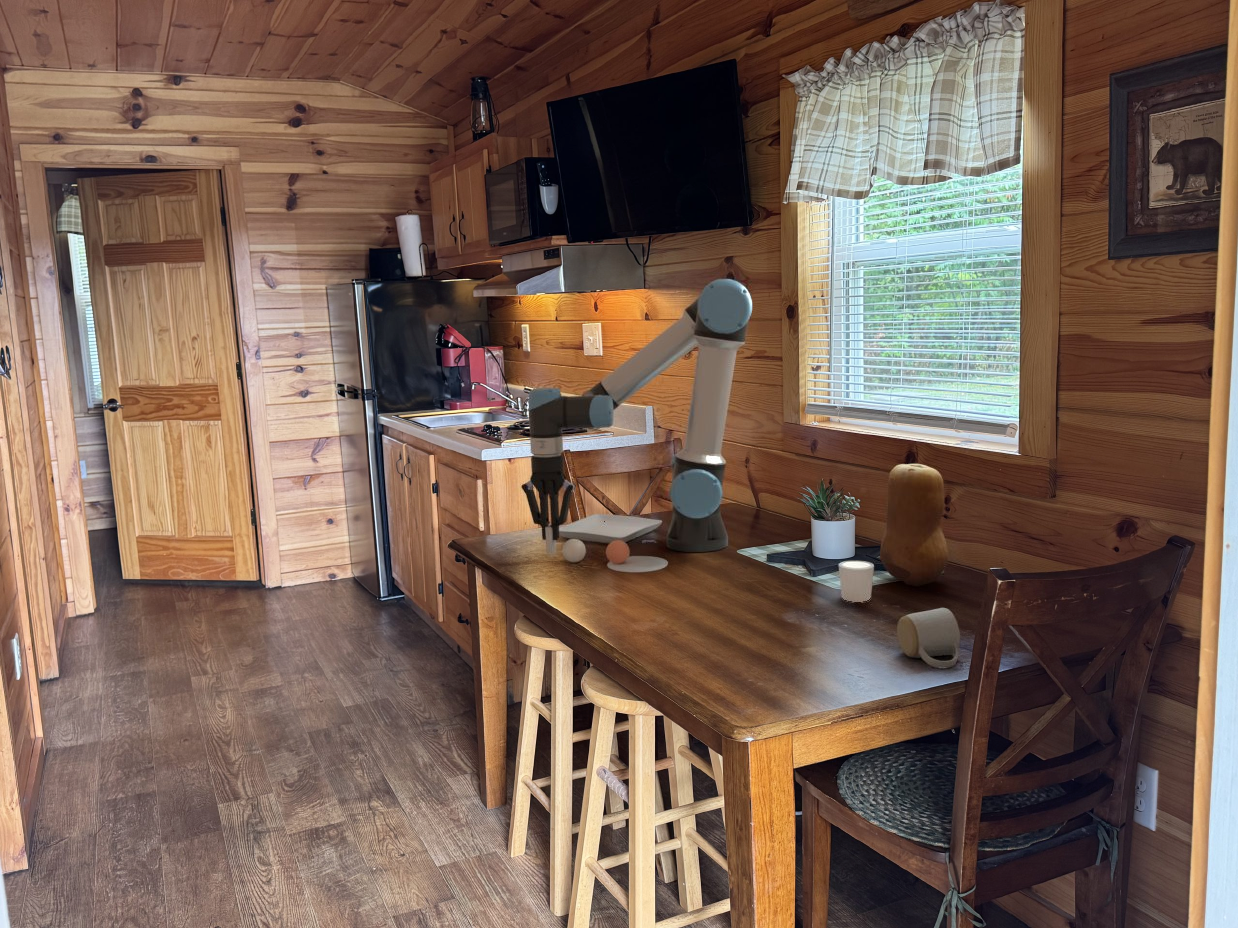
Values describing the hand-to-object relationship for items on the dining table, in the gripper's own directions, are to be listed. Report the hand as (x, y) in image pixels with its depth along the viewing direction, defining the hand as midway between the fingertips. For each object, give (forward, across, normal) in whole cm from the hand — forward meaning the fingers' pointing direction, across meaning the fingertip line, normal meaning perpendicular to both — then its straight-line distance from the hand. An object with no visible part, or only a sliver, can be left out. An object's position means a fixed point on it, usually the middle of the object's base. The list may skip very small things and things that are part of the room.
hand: (551, 553), depth 236 cm
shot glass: (+2, +71, -19) cm, 74 cm away
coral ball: (-1, +16, 0) cm, 16 cm away
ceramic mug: (+2, +85, -51) cm, 99 cm away
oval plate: (+2, +21, 0) cm, 21 cm away
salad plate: (+3, +6, +28) cm, 29 cm away
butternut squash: (+2, +82, -6) cm, 82 cm away
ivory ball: (-1, +6, 0) cm, 6 cm away
